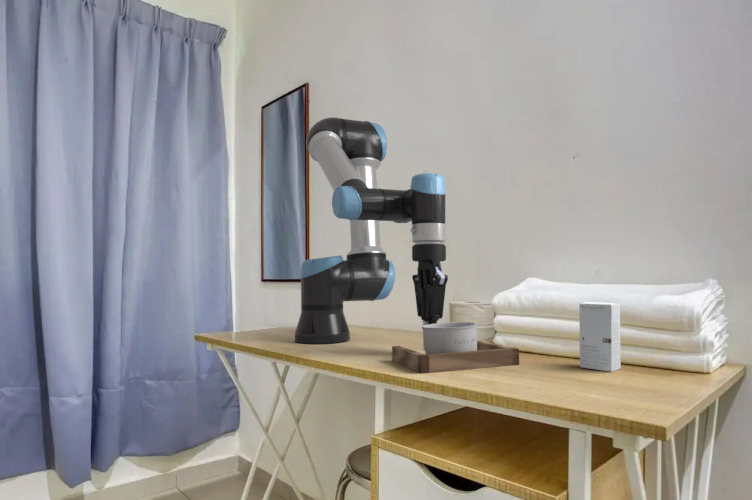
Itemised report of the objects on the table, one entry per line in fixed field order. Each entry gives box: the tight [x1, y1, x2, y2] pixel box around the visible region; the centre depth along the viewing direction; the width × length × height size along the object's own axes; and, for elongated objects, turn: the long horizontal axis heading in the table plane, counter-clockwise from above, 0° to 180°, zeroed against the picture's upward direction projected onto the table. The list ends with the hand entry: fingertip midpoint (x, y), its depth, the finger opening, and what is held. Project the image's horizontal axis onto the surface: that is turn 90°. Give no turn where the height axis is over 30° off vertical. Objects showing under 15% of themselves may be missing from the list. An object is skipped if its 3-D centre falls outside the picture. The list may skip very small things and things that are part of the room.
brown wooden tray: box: [391, 340, 520, 374], centre depth 98 cm, size 14×21×3 cm, turn 111°
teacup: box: [421, 321, 478, 355], centre depth 99 cm, size 14×11×8 cm
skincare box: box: [579, 301, 622, 372], centre depth 90 cm, size 6×4×12 cm
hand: (430, 350), depth 108 cm, fingers closed
